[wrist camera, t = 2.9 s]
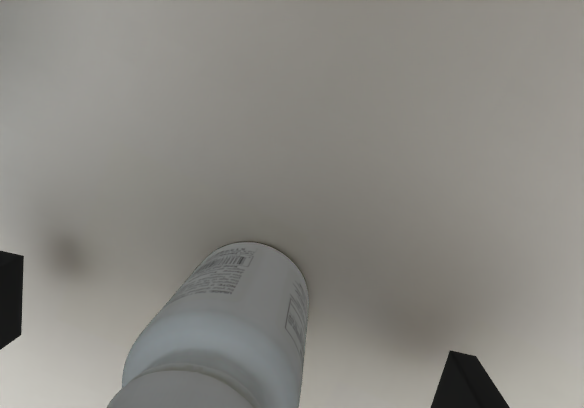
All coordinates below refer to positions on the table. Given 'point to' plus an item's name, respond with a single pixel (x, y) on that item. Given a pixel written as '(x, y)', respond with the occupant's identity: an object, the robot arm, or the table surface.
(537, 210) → the table surface
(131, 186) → the table surface
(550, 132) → the table surface
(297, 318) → the pill bottle
